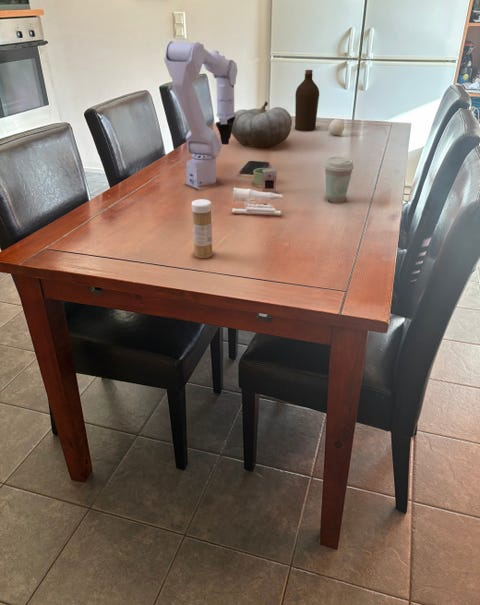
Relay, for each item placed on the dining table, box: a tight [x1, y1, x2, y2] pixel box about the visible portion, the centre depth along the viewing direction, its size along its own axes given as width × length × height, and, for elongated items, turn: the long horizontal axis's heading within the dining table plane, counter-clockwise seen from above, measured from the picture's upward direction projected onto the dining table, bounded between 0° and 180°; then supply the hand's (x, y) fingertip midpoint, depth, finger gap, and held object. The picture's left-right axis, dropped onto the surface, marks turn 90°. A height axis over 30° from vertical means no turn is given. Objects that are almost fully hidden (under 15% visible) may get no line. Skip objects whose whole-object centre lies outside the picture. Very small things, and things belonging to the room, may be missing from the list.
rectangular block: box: [261, 168, 278, 194], centre depth 158 cm, size 2×4×8 cm, turn 86°
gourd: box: [231, 101, 293, 149], centre depth 207 cm, size 25×25×17 cm
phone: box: [239, 160, 270, 176], centre depth 181 cm, size 8×1×15 cm
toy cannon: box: [231, 186, 284, 217], centre depth 146 cm, size 8×14×5 cm
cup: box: [252, 167, 269, 186], centre depth 167 cm, size 6×6×4 cm
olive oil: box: [294, 69, 320, 132], centre depth 229 cm, size 11×11×25 cm
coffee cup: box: [323, 156, 355, 204], centre depth 153 cm, size 8×9×12 cm
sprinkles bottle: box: [191, 198, 214, 259], centre depth 120 cm, size 5×5×14 cm
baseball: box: [328, 118, 345, 136], centre depth 224 cm, size 7×7×7 cm
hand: (226, 141), depth 175 cm, fingers open, 7 cm apart
